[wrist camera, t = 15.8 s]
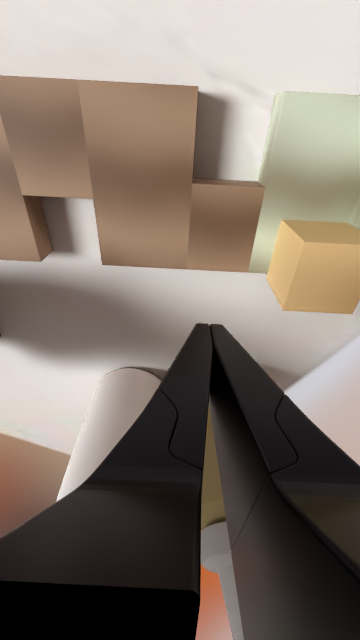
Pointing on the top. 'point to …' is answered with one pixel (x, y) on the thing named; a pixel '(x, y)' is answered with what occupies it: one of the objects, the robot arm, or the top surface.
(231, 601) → the squeeze bottle
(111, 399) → the milk bottle
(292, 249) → the block
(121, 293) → the top surface
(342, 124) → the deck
